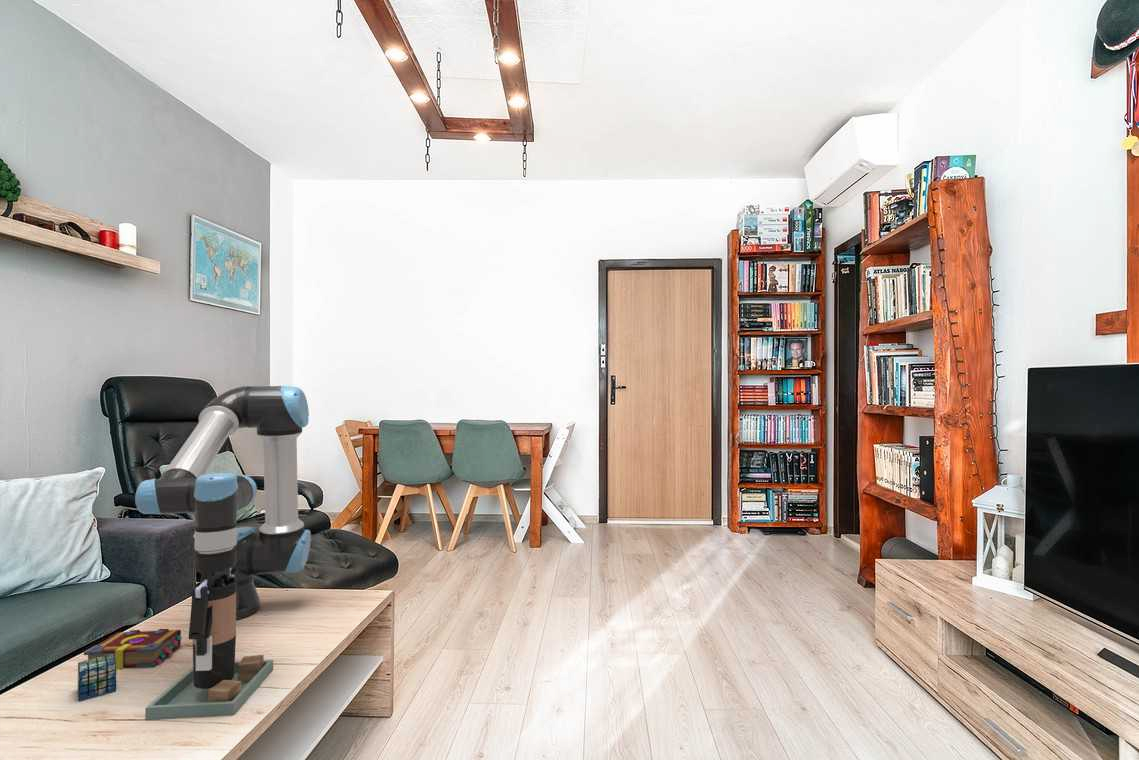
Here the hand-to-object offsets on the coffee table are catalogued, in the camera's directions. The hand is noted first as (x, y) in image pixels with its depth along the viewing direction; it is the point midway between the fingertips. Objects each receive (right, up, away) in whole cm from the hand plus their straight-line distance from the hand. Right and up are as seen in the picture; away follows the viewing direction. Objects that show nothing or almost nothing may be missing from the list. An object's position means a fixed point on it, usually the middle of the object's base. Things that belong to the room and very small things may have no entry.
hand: (214, 659), depth 119 cm
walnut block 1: (+5, -7, -5) cm, 10 cm away
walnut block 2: (+4, -7, +6) cm, 10 cm away
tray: (0, -8, 0) cm, 8 cm away
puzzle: (-26, -8, +2) cm, 28 cm away
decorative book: (-29, -8, +18) cm, 35 cm away
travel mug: (0, -4, 0) cm, 4 cm away
